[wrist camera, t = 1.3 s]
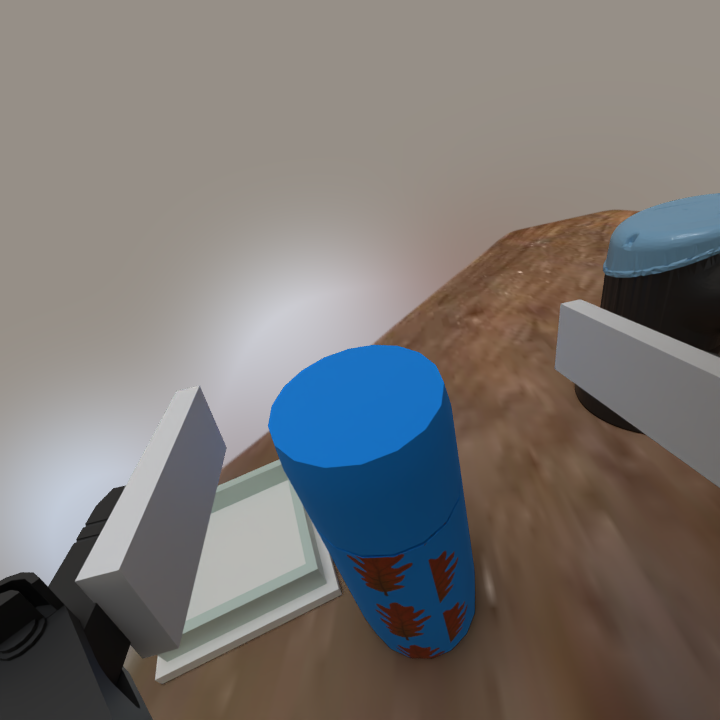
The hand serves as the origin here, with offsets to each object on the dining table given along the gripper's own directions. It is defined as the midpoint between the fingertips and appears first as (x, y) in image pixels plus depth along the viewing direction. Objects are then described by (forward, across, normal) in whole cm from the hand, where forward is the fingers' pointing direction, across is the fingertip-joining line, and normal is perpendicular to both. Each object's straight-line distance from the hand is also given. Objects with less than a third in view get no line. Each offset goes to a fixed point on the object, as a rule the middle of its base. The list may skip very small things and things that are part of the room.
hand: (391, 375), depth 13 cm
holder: (+19, -16, -30) cm, 39 cm away
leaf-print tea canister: (+9, +1, -30) cm, 31 cm away
